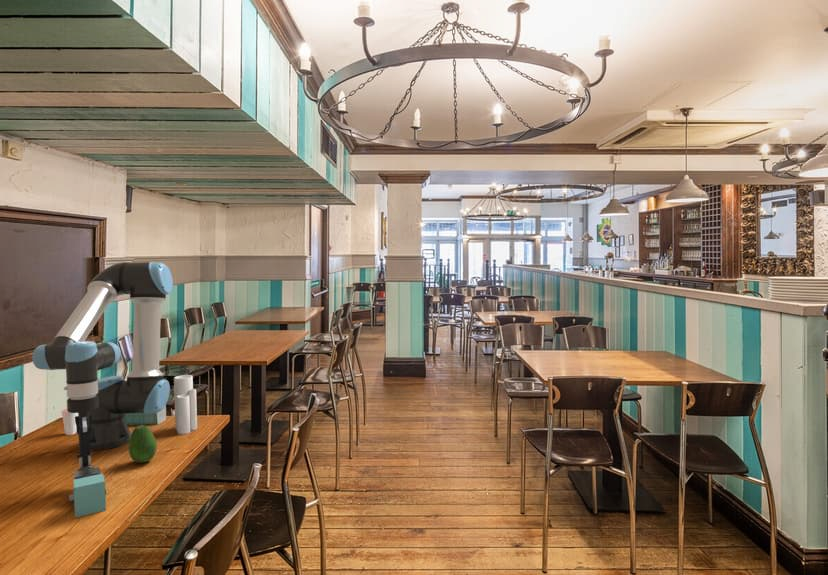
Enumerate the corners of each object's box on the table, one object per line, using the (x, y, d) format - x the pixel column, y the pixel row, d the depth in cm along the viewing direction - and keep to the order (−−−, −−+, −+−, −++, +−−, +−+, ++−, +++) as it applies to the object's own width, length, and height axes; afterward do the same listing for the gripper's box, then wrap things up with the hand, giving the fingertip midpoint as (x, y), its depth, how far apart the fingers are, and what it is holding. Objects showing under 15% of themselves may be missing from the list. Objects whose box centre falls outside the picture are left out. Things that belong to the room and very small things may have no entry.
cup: (82, 432, 193) (81, 400, 193) (69, 436, 188) (67, 404, 187) (72, 430, 195) (71, 399, 194) (58, 435, 190) (57, 403, 189)
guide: (69, 496, 139) (68, 473, 139) (104, 488, 144) (104, 465, 143) (69, 503, 135) (68, 478, 135) (106, 494, 140) (105, 471, 140)
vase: (173, 427, 198) (172, 376, 197) (193, 423, 202) (192, 374, 201) (178, 435, 189) (177, 382, 188) (199, 431, 193) (197, 379, 192)
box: (134, 419, 209) (133, 401, 208) (166, 419, 209) (166, 401, 208) (123, 425, 202) (123, 406, 201) (157, 425, 201) (157, 406, 201)
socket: (74, 508, 132) (73, 479, 132) (103, 501, 136) (102, 473, 136) (75, 517, 127) (74, 487, 127) (105, 510, 131) (104, 481, 131)
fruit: (158, 463, 162) (157, 426, 161) (130, 469, 157) (128, 431, 157) (156, 455, 168) (154, 420, 168) (128, 460, 164) (127, 424, 164)
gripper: (66, 393, 148) (69, 473, 149) (67, 403, 137) (70, 489, 138) (96, 389, 152) (99, 467, 153) (100, 399, 142) (102, 482, 143)
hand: (85, 477), depth 146 cm, fingers closed
